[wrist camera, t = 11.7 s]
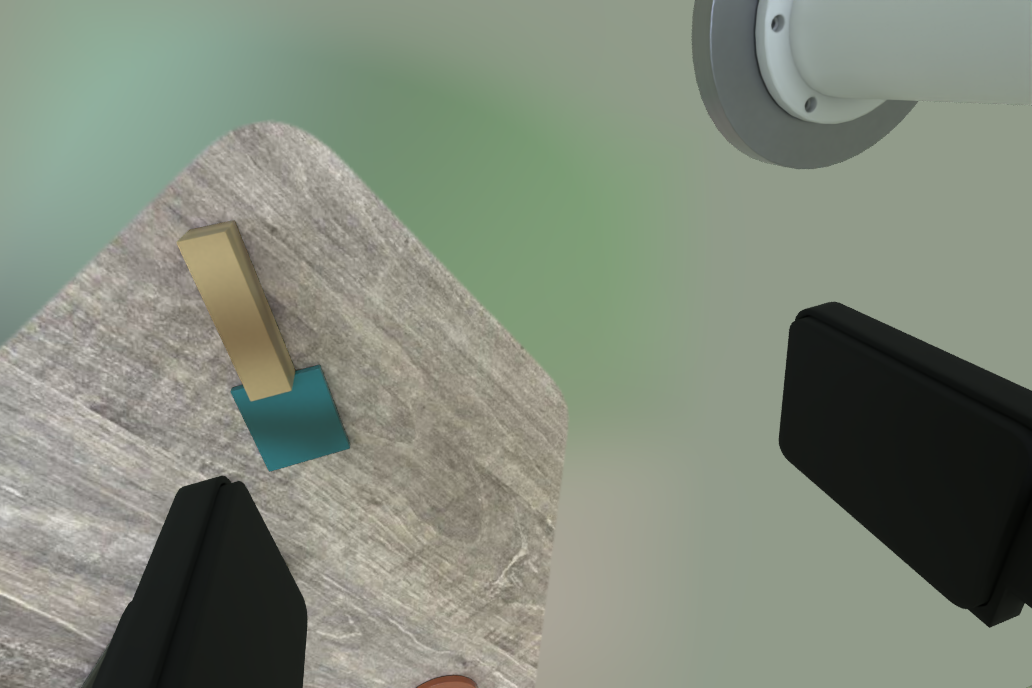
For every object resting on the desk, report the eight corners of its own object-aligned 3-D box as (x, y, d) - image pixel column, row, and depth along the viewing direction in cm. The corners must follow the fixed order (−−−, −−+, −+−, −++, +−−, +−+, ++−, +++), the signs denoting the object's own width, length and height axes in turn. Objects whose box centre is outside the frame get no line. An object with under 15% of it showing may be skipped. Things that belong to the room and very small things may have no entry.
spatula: (158, 235, 27) (143, 249, 25) (263, 213, 28) (256, 224, 26) (270, 467, 34) (264, 492, 32) (350, 443, 35) (350, 467, 33)
